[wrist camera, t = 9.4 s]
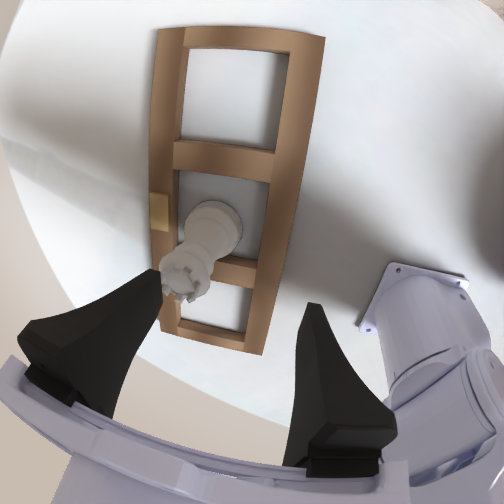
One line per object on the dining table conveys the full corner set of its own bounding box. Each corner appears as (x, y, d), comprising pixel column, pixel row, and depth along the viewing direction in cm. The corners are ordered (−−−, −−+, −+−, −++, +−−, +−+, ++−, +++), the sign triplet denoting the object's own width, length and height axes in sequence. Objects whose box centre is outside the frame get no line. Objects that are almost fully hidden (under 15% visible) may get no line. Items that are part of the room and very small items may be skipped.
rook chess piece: (253, 240, 22) (230, 308, 15) (205, 255, 23) (168, 320, 17) (229, 189, 20) (190, 240, 13) (180, 209, 22) (129, 263, 15)
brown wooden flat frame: (323, 41, 13) (325, 36, 12) (263, 346, 28) (261, 357, 27) (166, 32, 14) (157, 28, 13) (165, 323, 29) (159, 333, 28)
